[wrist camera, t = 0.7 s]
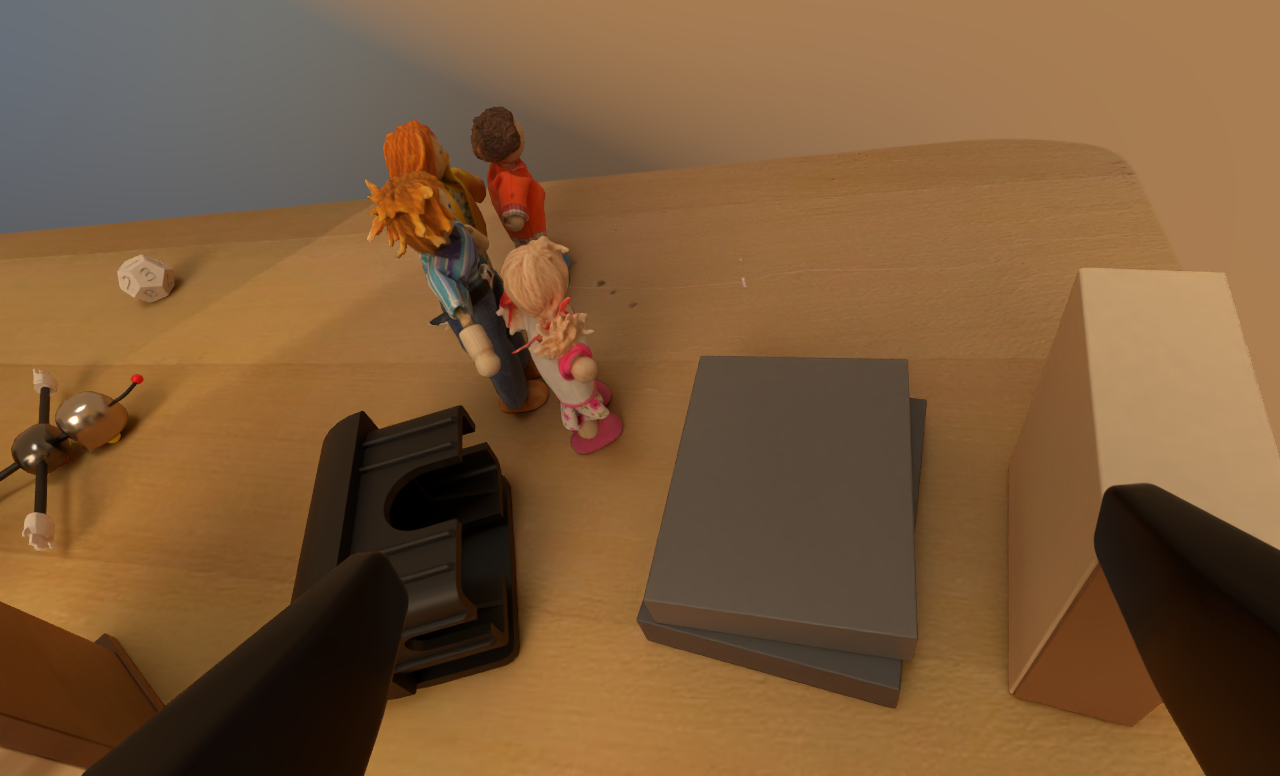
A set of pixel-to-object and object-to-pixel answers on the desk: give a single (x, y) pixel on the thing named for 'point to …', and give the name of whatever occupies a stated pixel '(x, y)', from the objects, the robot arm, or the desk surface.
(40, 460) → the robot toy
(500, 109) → the doll family
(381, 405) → the desk surface
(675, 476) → the grey books
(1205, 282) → the cream book
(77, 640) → the book rack
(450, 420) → the end cap
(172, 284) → the game die
